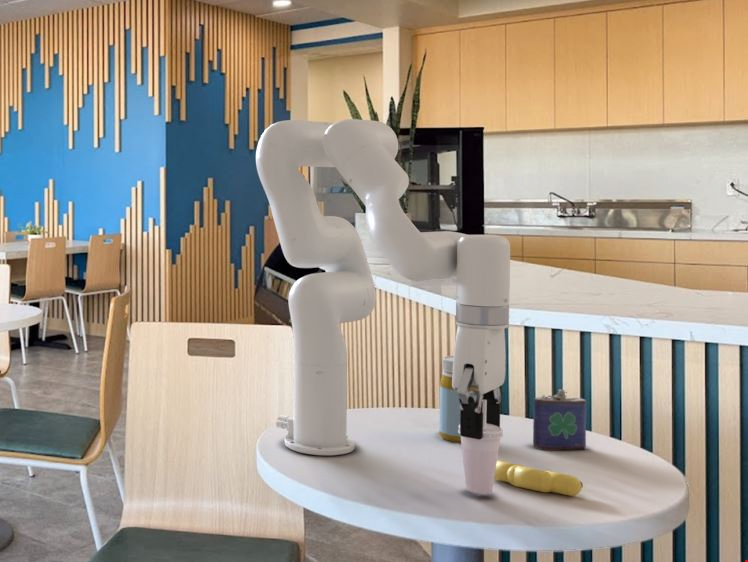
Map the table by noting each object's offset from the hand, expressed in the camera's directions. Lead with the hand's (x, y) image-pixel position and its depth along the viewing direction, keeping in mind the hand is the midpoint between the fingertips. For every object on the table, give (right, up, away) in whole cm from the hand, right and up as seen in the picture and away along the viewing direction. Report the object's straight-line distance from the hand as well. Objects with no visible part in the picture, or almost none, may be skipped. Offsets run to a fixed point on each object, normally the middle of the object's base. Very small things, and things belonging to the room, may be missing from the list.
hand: (480, 431), depth 132 cm
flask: (+24, -9, +24) cm, 36 cm away
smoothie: (0, -9, 0) cm, 9 cm away
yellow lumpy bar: (+9, -10, +3) cm, 14 cm away
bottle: (+8, -9, +31) cm, 33 cm away
